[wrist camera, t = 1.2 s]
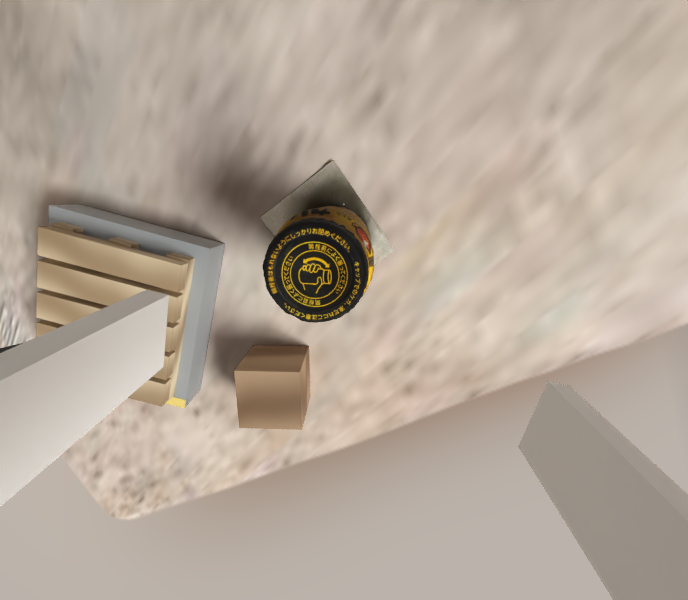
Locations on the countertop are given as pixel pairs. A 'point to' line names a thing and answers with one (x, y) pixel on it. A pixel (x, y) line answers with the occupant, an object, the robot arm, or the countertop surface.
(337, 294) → the condiment
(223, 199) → the countertop surface
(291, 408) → the brown cube
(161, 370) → the pallet
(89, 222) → the dock
